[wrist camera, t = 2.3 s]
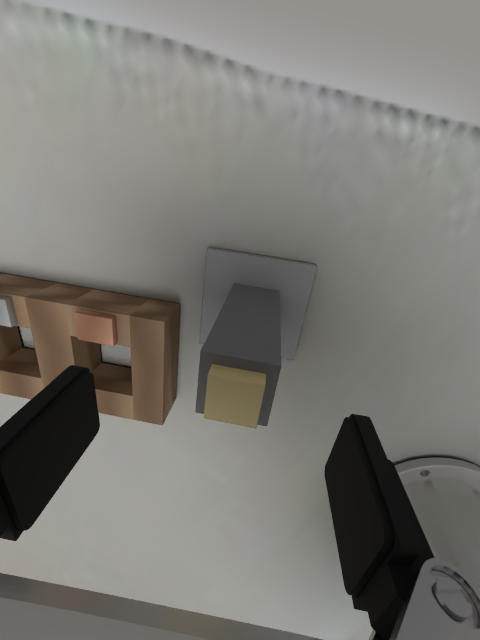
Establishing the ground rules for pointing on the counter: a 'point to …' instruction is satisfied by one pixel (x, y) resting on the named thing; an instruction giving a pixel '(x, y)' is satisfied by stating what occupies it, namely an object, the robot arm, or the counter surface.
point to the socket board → (90, 344)
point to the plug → (241, 358)
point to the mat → (260, 273)
